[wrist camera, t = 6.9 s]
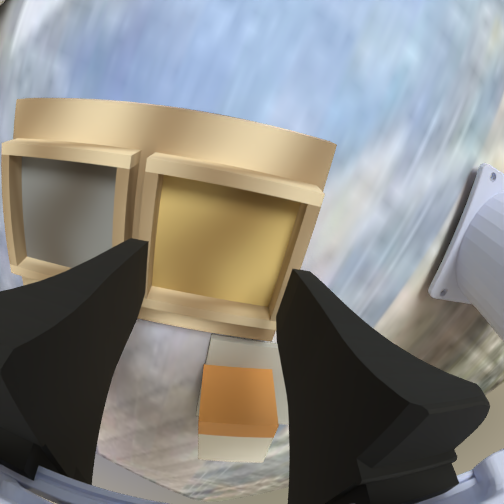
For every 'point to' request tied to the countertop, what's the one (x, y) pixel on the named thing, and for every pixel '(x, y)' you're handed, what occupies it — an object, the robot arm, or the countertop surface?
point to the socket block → (165, 204)
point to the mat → (250, 364)
